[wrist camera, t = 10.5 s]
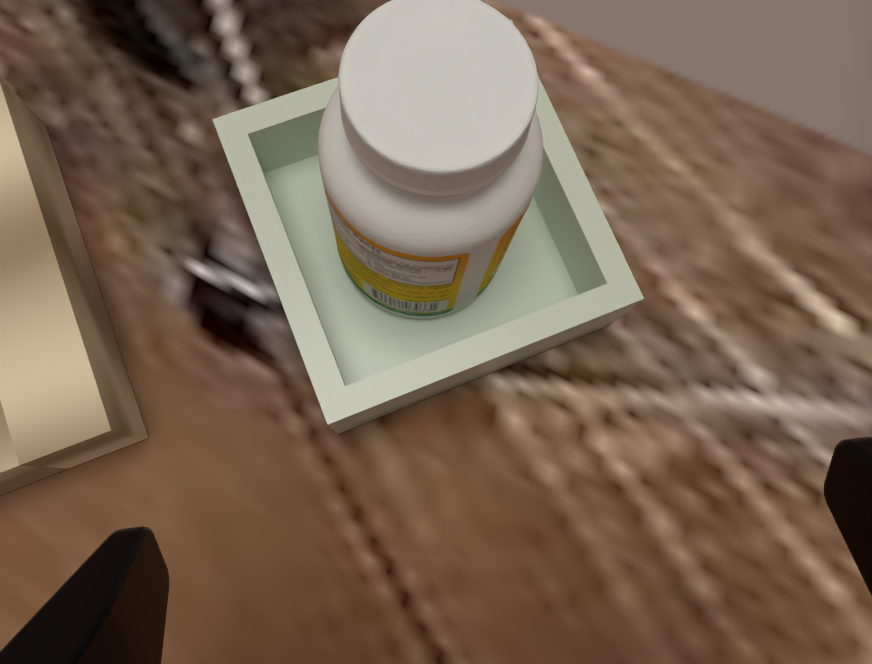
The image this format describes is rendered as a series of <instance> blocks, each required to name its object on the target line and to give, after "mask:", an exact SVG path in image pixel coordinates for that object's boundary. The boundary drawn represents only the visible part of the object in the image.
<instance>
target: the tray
mask: <svg viewBox="0 0 872 664" xmlns="http://www.w3.org/2000/svg"><path fill="white" fill-rule="evenodd" d="M509 21H510V22H511V23H512V24H513V22H512V20H509ZM513 25H514V24H513ZM538 83H539V89H538V97H537V104H536V109H535V110H536V113H537V115H538V118H539V122H540V126H541V130H542V137H543V163H542V169H541V174H540V178H539V181H538V184H537V187H536V190H535V193H534V195H533V198H532V200H531V203H530V205H529V207H528V209H527V211H526V212H525V214H524V216H523V218H522V220H521V222H520V224H519V226H518V228H517V230H516V233H515V235H514V237H513V238H512V240H511V243H510V245H509V247H508V249H507V251H506V253H505V255H504V258H503V260H502V262H501V264H500V266H499V268H498V270H497V272H496V274H495V276H494V277H493V279H492V281H491V282H490V284H489V285H488V287H487V288H486V289H485V290H484V291H483V293H482V294H481V295H480V296H478V297H477V298H476V299H475V300H474V301H473V302H471V303H470V304H469V305H467V306H465V307H464V308H462V309H460V310H458V311H456V312H453V313H451V314H448V315H445V316H441V317H436V318H429V319H416V318H407V317H403V316H399V315H396V314H392V313H390V312H388V311H385V310H383V309H381V308H379V307H378V306H376V305H375V304H373V303H372V302H370V301H369V300H368V299H367V298H365V297H364V296H363V295H362V294H361V293H360V292H359V291H358V290H357V289H356V287H355V286H354V285H353V283H352V282H351V281H350V279H349V278H348V276H347V274H346V272H345V270H344V267H343V265H342V262H341V259H340V256H339V253H338V249H337V243H336V238H335V233H334V229H333V224H332V219H331V215H330V212H329V207H328V203H327V199H326V194H325V190H324V185H323V181H322V176H321V172H320V166H319V159H318V135H319V129H320V124H321V120H322V117H323V113H324V111H325V108H326V106H327V104H328V101H329V99H330V97H331V95H332V94H333V92H334V90H335V89H336V87H337V86H338V84H339V83H338V78H335V79H332V80H329V81H326V82H323V83H320V84H317V85H314V86H311V87H308V88H305V89H302V90H299V91H296V92H293V93H290V94H287V95H284V96H281V97H278V98H275V99H272V100H269V101H266V102H263V103H260V104H257V105H254V106H251V107H248V108H245V109H242V110H239V111H236V112H233V113H230V114H227V115H224V116H221V117H218V118H215V119H213V122H214V125H215V127H216V130H217V132H218V135H219V138H220V140H221V143H222V146H223V148H224V151H225V154H226V156H227V159H228V162H229V164H230V167H231V170H232V172H233V175H234V178H235V180H236V183H237V186H238V188H239V191H240V194H241V196H242V199H243V201H244V204H245V207H246V209H247V212H248V215H249V217H250V220H251V223H252V225H253V228H254V231H255V233H256V236H257V239H258V241H259V244H260V247H261V249H262V252H263V255H264V257H265V260H266V263H267V265H268V268H269V270H270V273H271V276H272V278H273V281H274V284H275V286H276V289H277V292H278V294H279V297H280V300H281V302H282V305H283V308H284V310H285V313H286V316H287V318H288V321H289V324H290V326H291V329H292V331H293V334H294V337H295V339H296V342H297V345H298V347H299V350H300V353H301V355H302V358H303V361H304V363H305V366H306V369H307V371H308V374H309V377H310V379H311V382H312V385H313V387H314V390H315V393H316V395H317V398H318V400H319V403H320V406H321V408H322V411H323V414H324V416H325V419H326V422H327V424H328V425H329V426H330V427H331V428H332V429H333V430H334V431H335V432H336V433H337V434H340V433H342V432H345V431H347V430H350V429H352V428H355V427H357V426H360V425H362V424H365V423H367V422H370V421H372V420H375V419H377V418H380V417H382V416H385V415H387V414H390V413H392V412H395V411H397V410H400V409H402V408H405V407H407V406H410V405H412V404H415V403H417V402H420V401H422V400H425V399H427V398H430V397H432V396H435V395H437V394H440V393H442V392H445V391H447V390H450V389H452V388H455V387H457V386H459V385H462V384H464V383H467V382H469V381H472V380H474V379H477V378H479V377H482V376H484V375H487V374H489V373H492V372H494V371H497V370H499V369H502V368H504V367H507V366H509V365H512V364H514V363H517V362H519V361H522V360H524V359H527V358H529V357H532V356H534V355H537V354H539V353H542V352H544V351H547V350H549V349H552V348H554V347H557V346H559V345H562V344H564V343H567V342H569V341H572V340H574V339H577V338H579V337H582V336H584V335H587V334H589V333H592V332H594V331H597V330H599V329H602V328H604V327H607V326H609V325H610V324H612V323H613V322H614V321H616V320H617V319H618V318H620V317H621V316H622V315H623V314H625V313H626V312H627V311H629V310H630V309H631V308H633V307H634V306H635V305H636V304H638V303H639V302H640V301H642V300H643V299H644V298H643V296H642V293H641V291H640V289H639V287H638V285H637V283H636V281H635V279H634V277H633V275H632V272H631V270H630V268H629V266H628V264H627V262H626V260H625V258H624V256H623V254H622V251H621V249H620V247H619V245H618V243H617V241H616V239H615V237H614V235H613V232H612V230H611V228H610V226H609V224H608V222H607V220H606V218H605V216H604V214H603V211H602V209H601V207H600V205H599V203H598V201H597V199H596V197H595V195H594V193H593V190H592V188H591V186H590V184H589V182H588V180H587V178H586V176H585V174H584V171H583V169H582V167H581V165H580V163H579V161H578V159H577V157H576V155H575V153H574V150H573V148H572V146H571V144H570V142H569V140H568V138H567V136H566V134H565V131H564V129H563V127H562V125H561V123H560V121H559V119H558V117H557V115H556V113H555V110H554V108H553V106H552V104H551V102H550V100H549V98H548V96H547V94H546V92H545V89H544V87H543V85H542V83H541V81H540V79H539V77H538Z"/></svg>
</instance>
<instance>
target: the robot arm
mask: <svg viewBox="0 0 872 664" xmlns="http://www.w3.org/2000/svg"><path fill="white" fill-rule="evenodd" d="M824 496H825V500H826V502H827V505H828V507H829V509H830V511H831V513H832V515H833V517H834V519H835V522H836V524H837V526H838V528H839V530H840V532H841V534H842V536H843V538H844V540H845V542H846V544H847V546H848V548H849V550H850V553H851V555H852V557H853V559H854V561H855V563H856V565H857V567H858V569H859V571H860V573H861V575H862V577H863V579H864V581H865V583H866V586H867V588H868V590H869V592H870V593H871V595H872V437H862V438H854V439H846V440H842V441H840V442H839V443H838V444H837V445H836V447H835V449H834V453H833V456H832V459H831V463H830V466H829V469H828V472H827V476H826V479H825V483H824ZM168 593H169V574H168V569H167V566H166V564H165V561H164V559H163V556H162V554H161V551H160V549H159V546H158V544H157V541H156V539H155V536H154V534H153V532H152V530H151V529H150V528H148V527H144V526H142V527H134V528H126V529H119V530H116V531H115V532H113V533H112V534H111V535H110V536H109V537H108V538H107V539H106V540H105V541H104V542H103V543H102V544H101V545H100V546H99V547H98V548H97V549H96V550H95V551H94V552H93V554H92V555H91V556H90V557H89V558H88V559H87V560H86V561H85V562H84V563H83V564H82V565H81V566H80V567H79V568H78V569H77V571H76V572H75V573H74V574H73V575H72V576H71V577H70V578H69V579H68V580H67V581H66V582H65V583H64V584H63V585H62V586H61V588H60V589H59V590H58V591H57V592H56V593H55V594H54V595H53V596H52V597H51V598H50V599H49V600H48V601H47V602H46V603H45V604H44V606H43V607H42V608H41V609H40V610H39V611H38V612H37V613H36V614H35V615H34V616H33V617H32V618H31V619H30V620H29V621H28V623H27V624H26V625H25V626H24V627H23V628H22V629H21V630H20V631H19V632H18V633H17V634H16V635H15V636H14V637H13V638H12V640H11V641H10V642H9V643H8V644H7V645H6V646H5V647H4V648H3V649H2V650H1V651H0V664H161V658H162V649H163V640H164V630H165V621H166V611H167V602H168Z"/></svg>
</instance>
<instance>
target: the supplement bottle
mask: <svg viewBox="0 0 872 664" xmlns="http://www.w3.org/2000/svg"><path fill="white" fill-rule="evenodd" d="M338 83H339V84H338V86H337V87H336V89H335V90H334V92H333V94H332V95H331V97H330V99H329V101H328V104H327V106H326V108H325V111H324V113H323V117H322V120H321V124H320V129H319V135H318V159H319V166H320V172H321V176H322V181H323V185H324V190H325V194H326V199H327V203H328V207H329V212H330V215H331V219H332V224H333V229H334V233H335V238H336V243H337V249H338V253H339V256H340V259H341V262H342V265H343V267H344V270H345V272H346V274H347V276H348V278H349V279H350V281H351V282H352V283H353V285H354V286H355V287H356V289H357V290H358V291H359V292H360V293H361V294H362V295H363V296H364V297H365V298H367V299H368V300H369V301H370V302H372V303H373V304H375V305H376V306H378V307H379V308H381V309H383V310H385V311H388V312H390V313H392V314H396V315H399V316H403V317H407V318H416V319H429V318H436V317H441V316H445V315H448V314H451V313H453V312H456V311H458V310H460V309H462V308H464V307H465V306H467V305H469V304H470V303H471V302H473V301H474V300H475V299H476V298H477V297H478V296H480V295H481V294H482V293H483V291H484V290H485V289H486V288H487V287H488V285H489V284H490V282H491V281H492V279H493V277H494V276H495V274H496V272H497V270H498V268H499V266H500V264H501V262H502V260H503V258H504V255H505V253H506V251H507V249H508V247H509V245H510V243H511V240H512V238H513V237H514V235H515V233H516V230H517V228H518V226H519V224H520V222H521V220H522V218H523V216H524V214H525V212H526V211H527V209H528V207H529V205H530V203H531V200H532V198H533V195H534V193H535V190H536V187H537V184H538V181H539V178H540V174H541V169H542V163H543V137H542V130H541V126H540V122H539V118H538V115H537V113H536V110H535V109H536V104H537V97H538V89H539V83H538V75H537V69H536V65H535V61H534V58H533V55H532V52H531V50H530V48H529V46H528V44H527V42H526V40H525V39H524V38H523V36H522V35H521V33H520V32H519V31H518V30H517V28H516V27H515V26H514V25H513V24H512V23H511V22H510V21H509V20H508V19H507V18H506V17H505V16H503V15H502V14H501V13H499V12H498V11H497V10H495V9H494V8H492V7H491V6H489V5H487V4H485V3H484V2H482V1H480V0H391V1H389V2H387V3H385V4H384V5H382V6H381V7H379V8H377V9H376V10H374V11H373V12H372V13H371V14H369V15H368V16H367V17H366V18H365V19H364V20H363V21H362V22H361V23H360V24H359V25H358V27H357V28H356V29H355V31H354V32H353V34H352V36H351V37H350V39H349V41H348V43H347V45H346V47H345V49H344V52H343V55H342V58H341V63H340V67H339V75H338Z"/></svg>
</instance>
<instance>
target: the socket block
mask: <svg viewBox="0 0 872 664" xmlns="http://www.w3.org/2000/svg"><path fill="white" fill-rule="evenodd" d="M147 438H148V435H147V432H146V429H145V426H144V423H143V420H142V417H141V414H140V411H139V408H138V405H137V402H136V399H135V396H134V393H133V390H132V387H131V384H130V381H129V378H128V375H127V371H126V368H125V365H124V362H123V359H122V356H121V353H120V350H119V347H118V344H117V341H116V338H115V335H114V332H113V329H112V326H111V323H110V320H109V317H108V314H107V311H106V308H105V305H104V302H103V299H102V295H101V292H100V289H99V286H98V283H97V280H96V277H95V274H94V271H93V268H92V265H91V262H90V259H89V256H88V253H87V250H86V247H85V244H84V241H83V238H82V235H81V232H80V229H79V226H78V222H77V219H76V216H75V213H74V210H73V207H72V204H71V201H70V198H69V195H68V192H67V189H66V186H65V183H64V180H63V177H62V174H61V171H60V168H59V165H58V162H57V159H56V156H55V153H54V150H53V146H52V143H51V140H50V137H49V134H48V131H47V128H46V125H45V124H44V123H43V122H42V120H41V119H40V118H39V117H38V116H37V115H36V114H35V113H34V112H33V111H32V110H31V109H30V108H29V107H28V106H27V105H26V104H25V103H24V102H23V101H22V100H21V99H20V98H19V97H18V96H17V95H16V94H15V93H14V92H13V90H12V89H11V88H10V87H9V86H8V85H7V84H6V83H5V82H4V81H3V80H2V79H1V78H0V495H2V494H5V493H7V492H10V491H12V490H15V489H18V488H20V487H23V486H25V485H28V484H30V483H33V482H36V481H38V480H41V479H43V478H46V477H48V476H51V475H54V474H56V473H59V472H61V471H64V470H67V469H69V468H72V467H74V466H77V465H79V464H82V463H85V462H87V461H90V460H92V459H95V458H98V457H100V456H103V455H105V454H108V453H110V452H113V451H116V450H118V449H121V448H123V447H126V446H128V445H131V444H134V443H136V442H139V441H141V440H144V439H147Z"/></svg>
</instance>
